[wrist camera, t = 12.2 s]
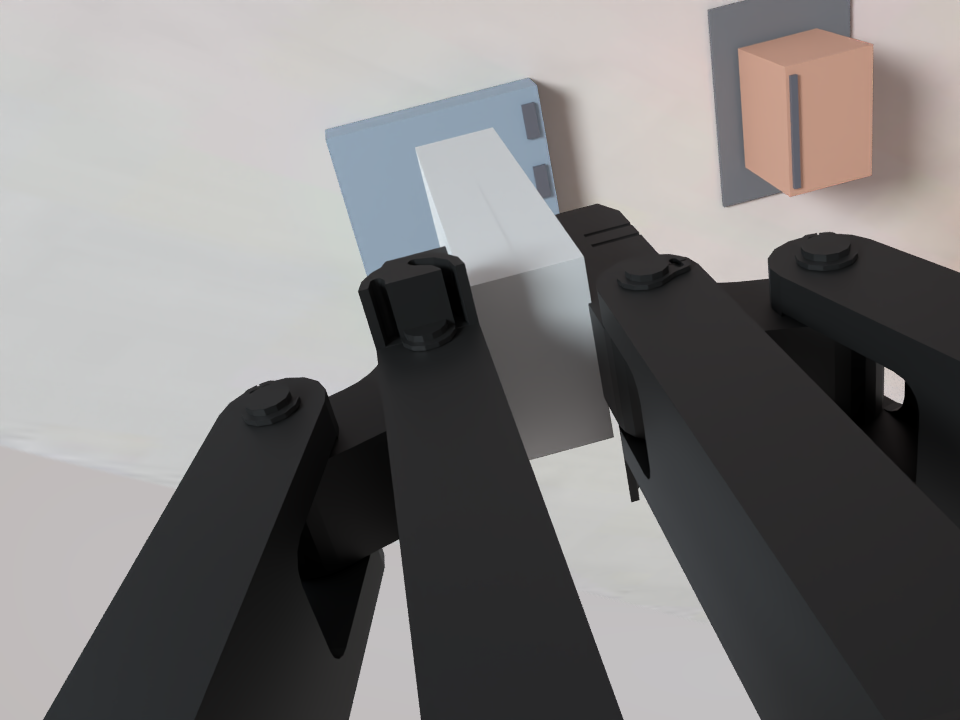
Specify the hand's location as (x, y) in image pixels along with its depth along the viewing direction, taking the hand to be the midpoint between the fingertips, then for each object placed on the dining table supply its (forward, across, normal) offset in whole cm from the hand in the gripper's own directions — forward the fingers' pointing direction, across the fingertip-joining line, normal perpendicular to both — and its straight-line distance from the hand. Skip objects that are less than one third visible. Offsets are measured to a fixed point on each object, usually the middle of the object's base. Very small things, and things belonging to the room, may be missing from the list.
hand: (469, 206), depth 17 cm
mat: (+26, +18, -8) cm, 33 cm away
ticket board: (+26, +1, -10) cm, 28 cm away
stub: (+26, +18, -8) cm, 33 cm away
